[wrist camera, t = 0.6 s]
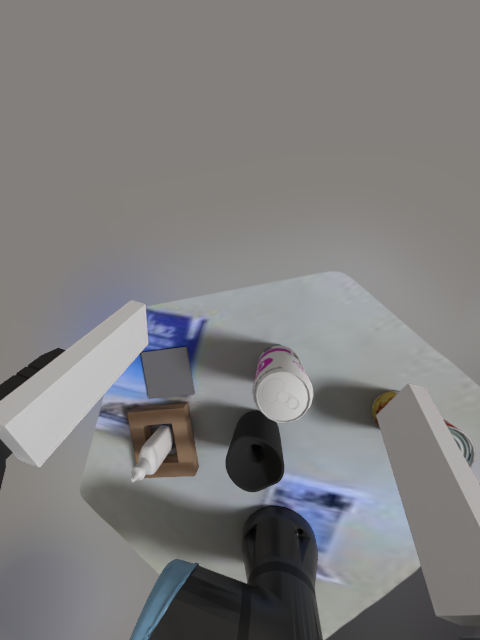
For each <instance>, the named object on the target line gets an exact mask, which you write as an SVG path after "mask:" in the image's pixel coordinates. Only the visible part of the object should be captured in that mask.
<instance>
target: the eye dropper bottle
mask: <svg viewBox="0 0 480 640" xmlns="http://www.w3.org/2000/svg"><path fill="white" fill-rule="evenodd" d="M172 445H173V433H172V430H171V428H170V426H168V425H161V426H160V427H159V428H158V429H157V430H156V431H155V432H154V433H153V435H152V436H151V437H150V438H149V439H148V440H147V442H146V443H145V444H144V445H143V446H142V448H141V451H140V454H139V462H138V463H137V464H136V465H135V467H134V468H133V469H132V476H133V477H132V478H131V481H132V482H135V481H136V480H142V479H143V478H144V477H145V475H152V474H154V473H155V472H156V471H157V469H158V468H159V467H160V465H161V464H162V462H163V461H164V459H165V458H166V456H167V455H168V453H169V452H170V450H171V448H172Z"/></svg>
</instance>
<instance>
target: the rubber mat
mask: <svg viewBox="0 0 480 640" xmlns="http://www.w3.org/2000/svg"><path fill="white" fill-rule="evenodd" d="M141 356H142V362H143V367H144V373H145V378H146V384H147V390H148V395H149V399H151V398H161V397H172V396H183V395H193V394H195V392H194V386H193V380H192V374H191V367H190V361H189V355H188V349H187V347H179V348H171V349H163V350H155V351H147V352H142V353H141Z"/></svg>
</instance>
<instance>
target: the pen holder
mask: <svg viewBox="0 0 480 640" xmlns="http://www.w3.org/2000/svg"><path fill="white" fill-rule="evenodd" d="M226 469H227V473H228V475H229V477H230V478H231V480H232V481H233V482H234V483H235V484H236V485H237V486H238V487H239V488H241V489H243V490H245V491H248V492H257V491H260V490H263V489H265V488H267V487H269V486H271V485H274V484H276V483H278V482H279V481H280V480H281V479H282V477H283V474H284V460H283V453H282V446H281V439H280V433H279V428H278V425H277V423H276V422H275V421H273V420H271V419H269V418H268V417H267V416H265V415H264V414H263V413H262V412H260V411H253V412H249V413H247V414H245V415H244V416H242V418H241V419H240V420H239V422H238V424H237V427H236V429H235V432H234V435H233V438H232V441H231V444H230V447H229V450H228V453H227V456H226Z"/></svg>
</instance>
